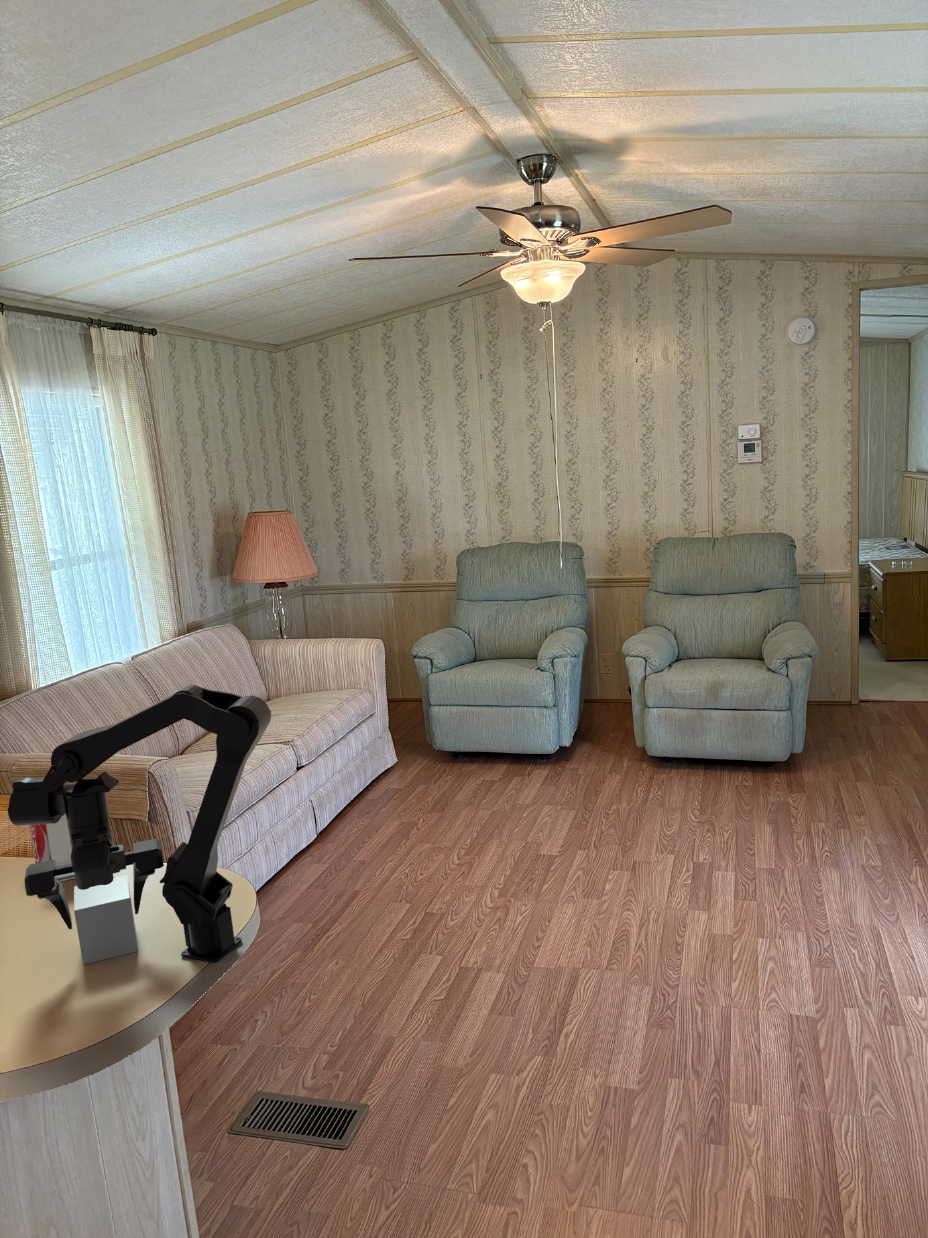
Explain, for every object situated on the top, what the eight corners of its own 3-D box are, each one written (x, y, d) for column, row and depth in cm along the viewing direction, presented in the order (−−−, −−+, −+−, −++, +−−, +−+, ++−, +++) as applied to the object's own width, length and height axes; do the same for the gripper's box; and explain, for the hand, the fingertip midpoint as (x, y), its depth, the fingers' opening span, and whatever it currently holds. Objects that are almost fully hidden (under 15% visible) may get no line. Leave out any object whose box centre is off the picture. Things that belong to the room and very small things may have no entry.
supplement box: (98, 874, 173) (87, 808, 171) (54, 883, 171) (43, 816, 169) (99, 860, 180) (89, 796, 178) (57, 868, 177) (46, 803, 175)
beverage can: (58, 870, 177) (48, 808, 175) (29, 870, 178) (18, 808, 176) (78, 856, 183) (68, 796, 181) (49, 856, 184) (39, 796, 182)
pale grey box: (135, 925, 149) (127, 874, 147) (138, 951, 142) (129, 897, 140) (82, 938, 147) (74, 886, 145) (83, 964, 140) (73, 910, 138)
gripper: (14, 854, 128) (32, 961, 130) (158, 824, 134) (173, 928, 137) (20, 827, 138) (36, 927, 141) (154, 801, 145) (167, 897, 147)
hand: (104, 920), depth 141 cm, fingers open, 9 cm apart
